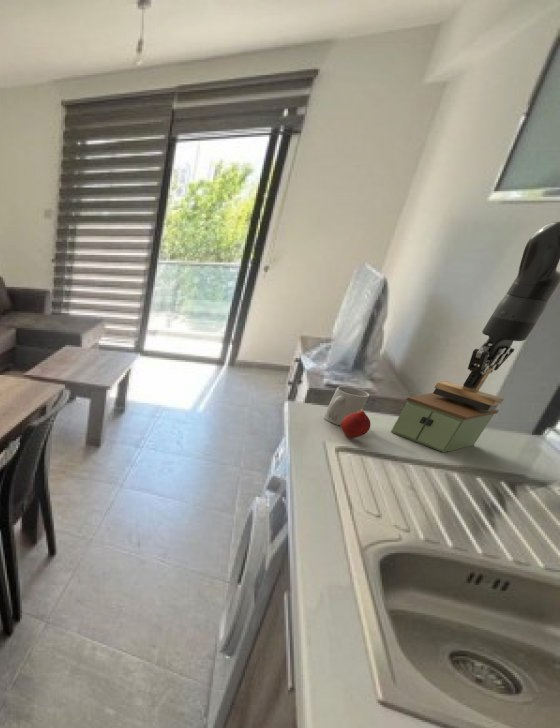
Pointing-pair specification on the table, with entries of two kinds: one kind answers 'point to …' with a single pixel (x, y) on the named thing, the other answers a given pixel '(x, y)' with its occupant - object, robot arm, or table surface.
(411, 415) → the cabinet
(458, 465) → the table surface
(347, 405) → the cup
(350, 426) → the onion
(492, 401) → the brush
